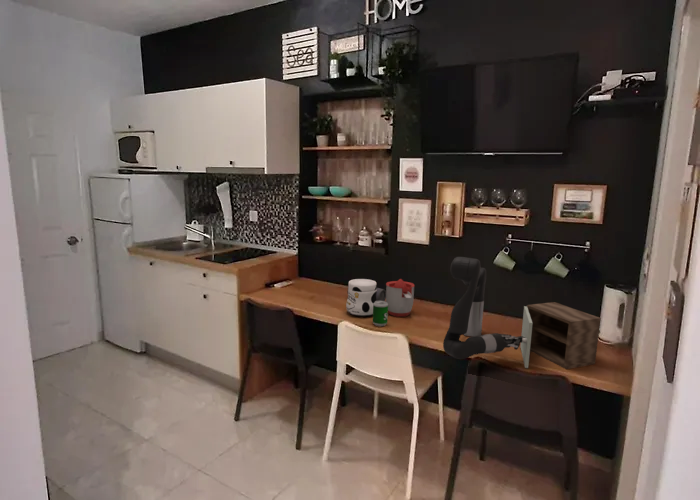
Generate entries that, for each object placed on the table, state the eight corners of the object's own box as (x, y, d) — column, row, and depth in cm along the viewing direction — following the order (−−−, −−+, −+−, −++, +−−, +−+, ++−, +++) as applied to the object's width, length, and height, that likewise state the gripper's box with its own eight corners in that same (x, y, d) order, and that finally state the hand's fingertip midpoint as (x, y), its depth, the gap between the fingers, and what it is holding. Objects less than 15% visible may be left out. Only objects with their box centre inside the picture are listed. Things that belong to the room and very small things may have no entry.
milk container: (340, 314, 240) (340, 282, 237) (356, 307, 255) (357, 276, 252) (367, 320, 231) (368, 287, 228) (382, 312, 246) (384, 281, 243)
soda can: (381, 328, 221) (381, 305, 219) (369, 324, 226) (370, 301, 224) (390, 324, 226) (391, 302, 224) (378, 321, 231) (379, 299, 229)
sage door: (520, 367, 178) (525, 322, 175) (516, 346, 200) (520, 305, 197) (528, 368, 177) (532, 323, 174) (523, 346, 199) (527, 306, 196)
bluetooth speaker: (346, 300, 269) (346, 284, 267) (355, 296, 276) (355, 281, 275) (378, 307, 256) (379, 290, 254) (386, 303, 264) (387, 287, 262)
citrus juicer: (395, 320, 233) (396, 284, 229) (379, 311, 248) (381, 276, 245) (420, 317, 239) (422, 281, 235) (403, 308, 254) (405, 274, 251)
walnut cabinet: (566, 369, 178) (571, 321, 175) (523, 347, 200) (527, 305, 197) (594, 363, 184) (600, 318, 181) (550, 343, 206) (554, 302, 203)
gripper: (501, 340, 173) (536, 335, 179) (480, 329, 185) (513, 325, 191) (499, 358, 174) (534, 353, 180) (479, 346, 186) (512, 341, 192)
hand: (523, 338), depth 186 cm, fingers closed
